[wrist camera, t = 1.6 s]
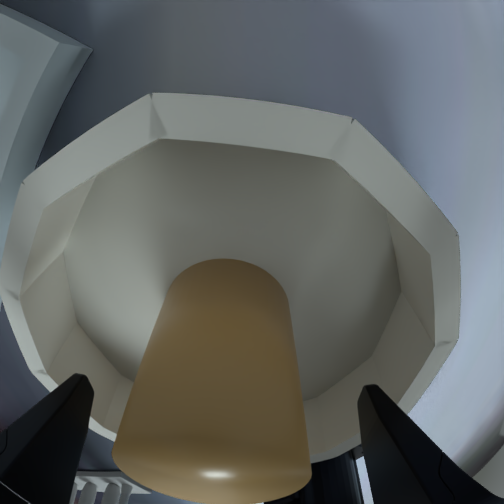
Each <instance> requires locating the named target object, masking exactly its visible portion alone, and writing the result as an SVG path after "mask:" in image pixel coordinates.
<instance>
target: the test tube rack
mask: <svg viewBox="0 0 504 504" xmlns="http://www.w3.org/2000/svg"><path fill="white" fill-rule="evenodd" d="M77 489H78V490H82V492H81V496H80V499H79V503H78V504H94V501H95V497H96V491H98V492H104V495H103V499H102V502H101V504H118V503H119V504H127V503H128V499H129V495H130V494H131V493H152V489H150V488H148V487H146V486H143V485H141V484H140V483H138V482H136V481H134V480H133V479H131V478H130V477H129V476H127V475H126V474H125V473H124V472H122V471H115V472H87V471H77V473H76V477H75V481H74V485H73V490H72V494H71V498H70V503H69V504H73V503H74V500H75V496H76V492H77ZM120 493H121V498H120V502H119V497H120Z"/></svg>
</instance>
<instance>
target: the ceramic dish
mask: <svg viewBox="0 0 504 504" xmlns="http://www.w3.org/2000/svg"><path fill="white" fill-rule="evenodd" d="M457 233H458V232H457V231H456V230H455V228H454V227H453V226H452V224H451V223H450V222H449V221H448V219H447V218H446V217H445V215H444V214H443V213H442V212H441V210H440V209H439V208H438V207H437V205H436V204H435V203H434V202H433V201H432V199H431V198H430V197H429V196H428V195H427V193H426V192H425V191H424V190H423V189H422V188H421V186H420V185H419V184H418V183H417V182H416V181H415V180H414V178H413V177H412V176H411V175H410V174H409V173H408V172H407V171H406V170H405V168H404V167H403V166H402V165H401V164H400V163H399V162H398V161H397V160H396V159H395V158H394V157H393V156H392V155H391V154H390V153H389V151H388V150H387V149H386V148H385V147H384V146H383V145H382V144H381V143H380V142H379V141H378V140H377V139H376V138H375V137H374V136H373V135H372V134H371V133H370V132H368V131H367V130H366V129H365V128H364V127H363V126H362V125H361V124H360V123H359V122H358V121H357V120H356V119H353V118H352V117H349V116H344V115H340V114H335V113H331V112H326V111H321V110H316V109H310V108H305V107H299V106H294V105H288V104H281V103H275V102H268V101H261V100H253V99H244V98H235V97H225V96H214V95H200V94H183V93H153V94H147V95H145V96H144V97H142V98H140V99H138V100H136V101H135V102H133V103H131V104H130V105H128V106H126V107H124V108H123V109H121V110H119V111H118V112H116V113H115V114H113V115H111V116H110V117H108V118H107V119H105V120H103V121H102V122H100V123H99V124H97V125H96V126H94V127H93V128H91V129H90V130H88V131H87V132H85V133H84V134H82V135H81V136H80V137H78V138H77V139H75V140H74V141H72V142H71V143H70V144H68V145H67V146H66V147H64V148H63V149H61V150H60V151H59V152H57V153H56V154H55V155H54V156H52V157H51V158H50V159H48V160H47V161H46V162H45V163H43V164H42V165H41V166H40V167H38V168H37V169H36V170H35V171H33V172H32V173H31V174H30V175H29V176H27V177H26V178H25V179H24V180H23V182H22V183H21V185H20V188H19V192H18V195H17V198H16V202H15V205H14V209H13V213H12V217H11V220H10V224H9V229H8V233H7V237H6V242H5V247H4V251H3V257H2V262H1V268H0V295H1V298H2V301H3V304H4V307H5V310H6V313H7V316H8V319H9V321H10V324H11V327H12V329H13V332H14V335H15V337H16V339H17V342H18V344H19V347H20V349H21V351H22V354H23V356H24V358H25V360H26V363H27V365H28V367H29V369H30V370H31V372H32V373H33V374H34V375H35V377H36V378H37V379H38V380H39V381H40V382H41V383H42V384H43V385H44V386H45V387H46V388H47V389H48V390H49V391H50V392H52V391H53V390H54V389H55V388H57V387H58V386H59V385H60V384H62V383H63V382H64V381H65V380H67V379H68V378H69V377H70V376H72V375H73V374H75V373H80V374H85V375H86V376H87V377H88V379H89V381H90V383H91V385H92V387H93V389H94V399H93V404H92V410H91V415H90V421H89V428H90V429H91V430H93V431H94V432H96V433H98V434H100V435H102V436H104V437H106V438H108V439H110V440H112V441H114V442H115V439H116V436H117V433H118V429H119V426H120V423H121V420H122V417H123V414H124V411H125V408H126V404H127V401H128V398H129V395H130V392H131V389H132V387H133V384H134V381H135V378H136V375H137V372H138V369H139V366H140V364H141V361H142V358H143V355H144V352H145V350H146V347H147V344H148V341H149V339H150V336H151V333H152V331H153V328H154V325H155V323H156V320H157V318H158V315H159V312H160V310H161V307H162V305H163V302H164V299H165V297H166V294H167V292H168V289H169V287H170V285H171V284H172V282H173V281H174V279H175V278H176V277H177V276H178V275H179V274H180V273H181V272H183V271H184V270H185V269H187V268H188V267H190V266H192V265H194V264H197V263H199V262H202V261H206V260H211V259H222V258H225V259H236V260H241V261H245V262H248V263H251V264H254V265H256V266H258V267H260V268H262V269H263V270H265V271H267V272H268V273H269V274H271V275H272V276H273V277H274V278H275V279H276V280H277V281H278V282H279V283H280V285H281V286H282V287H283V289H284V291H285V293H286V295H287V298H288V302H289V308H290V314H291V321H292V327H293V334H294V341H295V348H296V355H297V362H298V369H299V376H300V383H301V391H302V398H303V406H304V413H305V421H306V429H307V437H308V445H309V454H310V462H311V463H315V462H319V461H323V460H327V459H331V458H335V457H337V456H339V455H341V454H343V453H345V452H347V451H349V450H350V449H352V448H354V447H356V446H358V445H359V444H361V436H360V426H359V417H358V408H357V401H358V398H359V396H360V393H361V391H362V388H363V386H364V385H368V384H377V385H378V386H379V387H380V388H381V389H382V390H383V391H384V392H385V393H386V394H387V395H388V396H389V397H390V398H391V399H392V400H393V401H394V402H395V403H396V404H397V405H398V406H399V407H400V408H401V409H402V410H403V411H404V412H405V413H406V414H408V413H409V412H410V411H411V410H412V408H413V407H414V406H415V404H416V403H417V402H418V400H419V399H420V398H421V396H422V395H423V394H424V392H425V391H426V389H427V388H428V387H429V385H430V384H431V382H432V381H433V379H434V378H435V376H436V375H437V373H438V372H439V370H440V369H441V367H442V366H443V364H444V363H445V361H446V359H447V358H448V356H449V355H450V353H451V351H452V350H453V348H454V346H455V345H456V343H457V341H458V340H457V339H459V326H460V298H461V277H460V248H459V235H458V234H457Z"/></svg>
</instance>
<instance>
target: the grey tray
mask: <svg viewBox="0 0 504 504" xmlns="http://www.w3.org/2000/svg"><path fill="white" fill-rule="evenodd" d="M92 51H93V49H91V48H89V47H88V46H86V45H84V44H82V43H80V42H78V41H76V40H75V39H73V38H71V37H69V36H67V35H65V34H63V33H61V32H59V31H57V30H55V29H53V28H51V27H49V26H47V25H45V24H43V23H41V22H39V21H37V20H35V19H33V18H31V17H29V16H27V15H24V14H22V13H20V12H18V11H16V10H13V9H11V8H9V7H7V6H4V5H2V4H0V268H1V262H2V257H3V251H4V247H5V242H6V237H7V233H8V229H9V224H10V220H11V217H12V213H13V209H14V205H15V202H16V198H17V195H18V192H19V188H20V185H21V183H22V182H23V180H24V179H25V178H26V177H27V176H29V175H30V174H31V173H32V172H33V171H34V169H35V166H36V164H37V161H38V158H39V156H40V153H41V151H42V148H43V146H44V144H45V141H46V139H47V136H48V134H49V132H50V130H51V127H52V125H53V123H54V121H55V119H56V116H57V114H58V112H59V110H60V108H61V106H62V104H63V102H64V100H65V98H66V96H67V94H68V92H69V90H70V89H71V87H72V85H73V83H74V81H75V79H76V78H77V76H78V74H79V72H80V71H81V69H82V67H83V65H84V64H85V62H86V60H87V59H88V57H89V55H90V54H91V52H92ZM1 302H2V298H1V295H0V310H1Z"/></svg>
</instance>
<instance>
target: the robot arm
mask: <svg viewBox="0 0 504 504" xmlns="http://www.w3.org/2000/svg"><path fill="white" fill-rule="evenodd" d="M93 399H94V389H93V387H92V385H91V383H90V381H89V379H88V377H87V376H86V375H85V374H80V373H75V374H73V375H72V376H70V377H69V378H68V379H67V380H65V381H64V382H63V383H62V384H60V385H59V386H58V387H57V388H55V389H54V390H53V391H52V392H50V393H49V394H48V395H47V396H46V397H44V398H43V399H42V400H41V401H39V402H38V403H37V404H36V405H34V406H33V407H32V408H31V409H30V410H28V411H27V412H26V413H25V414H23V415H22V416H21V417H20V418H19V419H17V420H16V421H15V422H14V423H12V424H11V425H10V426H9V427H8V429H5V430H4V431H3V432H1V433H0V504H69V503H70V498H71V494H72V490H73V485H74V481H75V477H76V473H77V469H78V465H79V461H80V457H81V454H82V450H83V446H84V443H85V439H86V436H87V432H88V427H89V421H90V415H91V410H92V404H93ZM357 408H358V417H359V426H360V436H361V444H359V445H358V446H356V447H354V448H352V449H350V450H349V451H347V452H345V453H343V454H341V455H339V456H337V457H335V458H331V459H327V460H323V461H319V462H315V463H311V471H312V476H311V479H310V480H309V482H308V483H307V484H306V485H305V486H304V487H303V488H301V489H300V490H298V491H297V492H295V493H293V494H290V495H288V496H285V497H282V498H279V499H276V500H272V501H267V502H264V504H364V500H363V495H362V489H361V484H360V479H359V474H358V469H357V464H356V460H357V459H358V458H360V457H362V456H364V459H365V464H366V468H367V473H368V478H369V482H370V487H371V492H372V497H373V502H374V504H504V498H500V497H498V496H496V495H494V494H492V493H491V492H489V491H488V490H487V489H486V488H484V487H483V486H482V485H481V484H479V483H478V482H476V481H475V480H474V479H473V478H472V477H470V476H469V475H468V474H467V473H465V472H464V471H463V470H462V469H461V468H459V467H458V466H457V465H456V464H455V463H454V462H453V461H452V460H451V459H450V458H449V457H448V456H447V455H446V454H445V453H444V452H442V450H441V449H440V448H439V447H438V446H437V445H436V444H435V443H434V442H433V441H432V440H431V439H430V438H429V437H428V436H427V435H426V434H425V433H424V432H423V431H422V430H421V429H420V428H419V427H418V426H417V425H416V424H415V423H414V422H413V421H412V420H411V419H410V417H409V416H408V415H407V414H406V413H405V412H404V411H403V410H402V409H401V408H400V407H399V406H398V405H397V404H396V403H395V402H394V401H393V400H392V399H391V398H390V397H389V396H388V395H387V394H386V393H385V392H384V391H383V390H382V389H381V388H380V387H379V386H378V385H377V384H368V385H364V386H363V388H362V391H361V393H360V396H359V398H358V401H357Z"/></svg>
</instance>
